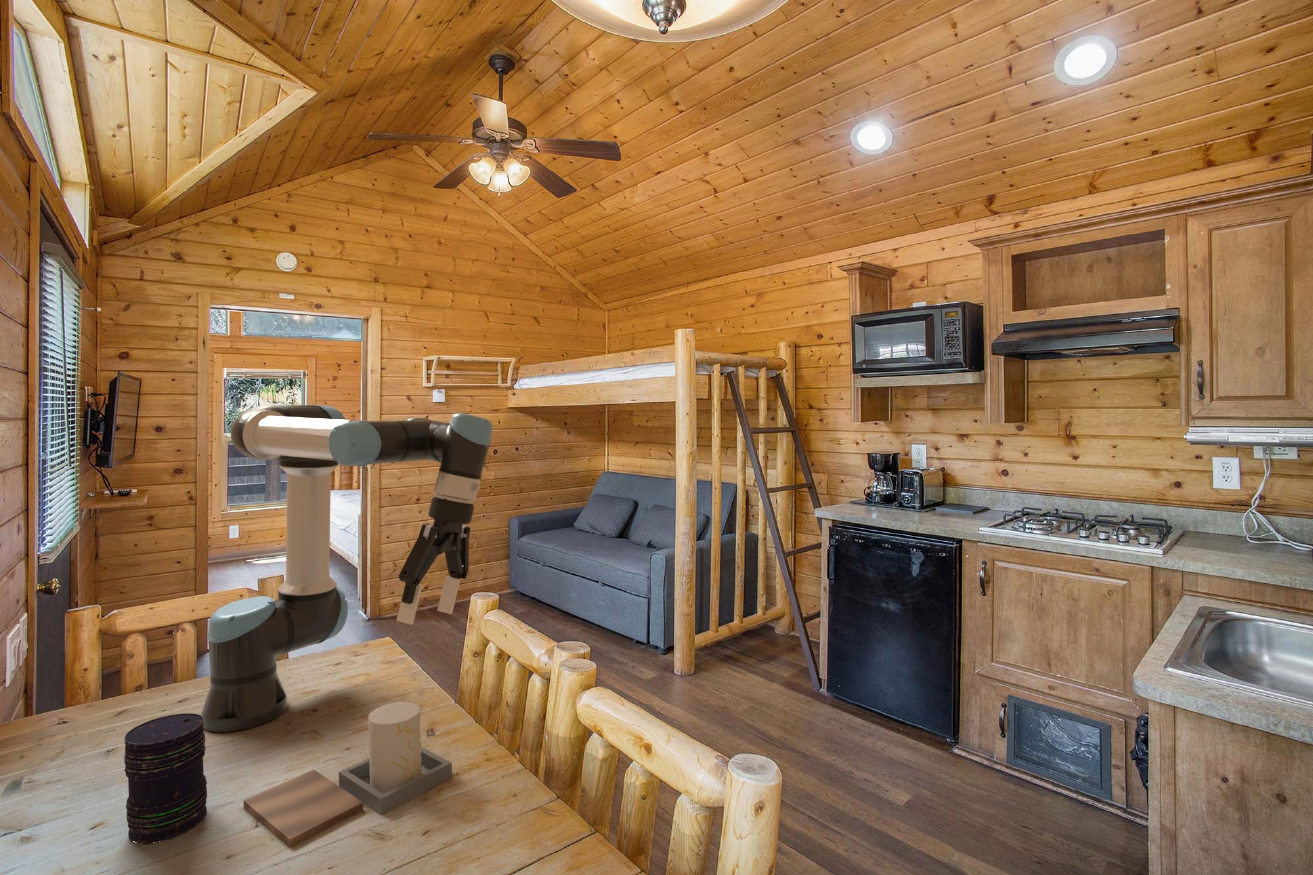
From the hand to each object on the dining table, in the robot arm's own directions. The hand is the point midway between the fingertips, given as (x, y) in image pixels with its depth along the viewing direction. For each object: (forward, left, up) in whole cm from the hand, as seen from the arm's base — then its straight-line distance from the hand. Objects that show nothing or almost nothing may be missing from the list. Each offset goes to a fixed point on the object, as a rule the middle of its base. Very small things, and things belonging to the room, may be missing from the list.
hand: (425, 617), depth 115 cm
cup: (0, -7, -27) cm, 28 cm away
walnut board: (-5, -20, -27) cm, 33 cm away
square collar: (0, -7, -27) cm, 27 cm away
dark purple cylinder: (-18, -34, -27) cm, 46 cm away
